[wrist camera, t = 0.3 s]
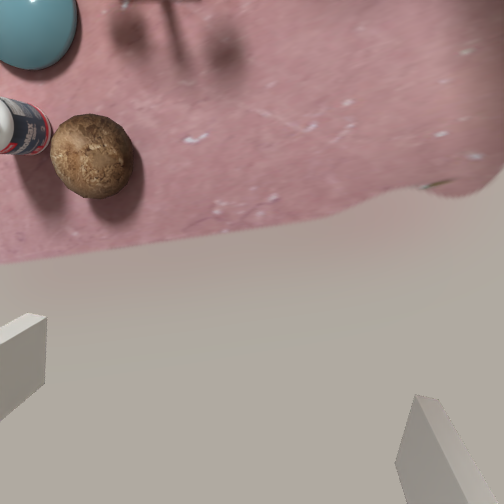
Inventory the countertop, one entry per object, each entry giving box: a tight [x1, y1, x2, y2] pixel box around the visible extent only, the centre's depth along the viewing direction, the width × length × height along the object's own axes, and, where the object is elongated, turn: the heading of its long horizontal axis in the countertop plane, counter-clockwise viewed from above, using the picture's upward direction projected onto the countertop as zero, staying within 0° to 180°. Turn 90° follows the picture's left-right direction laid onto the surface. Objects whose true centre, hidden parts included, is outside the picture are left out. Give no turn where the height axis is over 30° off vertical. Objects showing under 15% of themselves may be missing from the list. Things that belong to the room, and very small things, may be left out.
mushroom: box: [50, 114, 133, 199], centre depth 39 cm, size 8×8×6 cm
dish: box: [0, 0, 77, 70], centre depth 38 cm, size 10×10×1 cm
